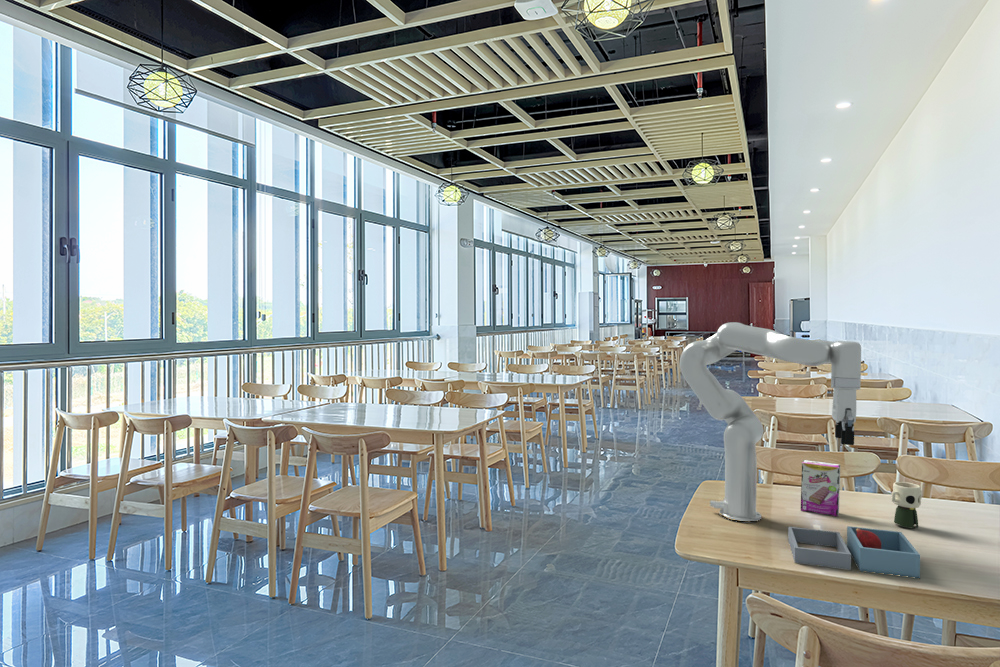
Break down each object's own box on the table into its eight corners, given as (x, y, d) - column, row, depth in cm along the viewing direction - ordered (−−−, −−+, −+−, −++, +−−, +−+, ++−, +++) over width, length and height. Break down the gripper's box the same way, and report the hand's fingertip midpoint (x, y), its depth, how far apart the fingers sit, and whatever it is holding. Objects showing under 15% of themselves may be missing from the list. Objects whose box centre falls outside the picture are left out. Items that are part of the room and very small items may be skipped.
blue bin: (859, 571, 154) (860, 547, 154) (846, 547, 170) (847, 526, 170) (919, 578, 150) (920, 554, 150) (900, 553, 166) (901, 531, 166)
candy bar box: (800, 511, 202) (801, 462, 201) (802, 507, 206) (802, 459, 205) (838, 517, 196) (839, 466, 195) (839, 513, 200) (840, 463, 199)
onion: (891, 549, 158) (869, 521, 162) (872, 560, 158) (850, 532, 162) (885, 551, 163) (863, 524, 167) (866, 562, 163) (845, 534, 167)
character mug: (901, 531, 182) (902, 489, 182) (881, 523, 189) (882, 482, 189) (930, 529, 185) (931, 486, 184) (910, 521, 192) (911, 480, 191)
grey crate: (794, 562, 159) (795, 547, 159) (788, 540, 175) (788, 526, 175) (850, 569, 155) (851, 554, 155) (838, 546, 171) (839, 532, 171)
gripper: (826, 379, 187) (825, 434, 187) (836, 386, 171) (835, 446, 171) (854, 380, 184) (852, 436, 185) (866, 387, 168) (865, 448, 169)
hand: (844, 441), depth 178 cm, fingers open, 9 cm apart
